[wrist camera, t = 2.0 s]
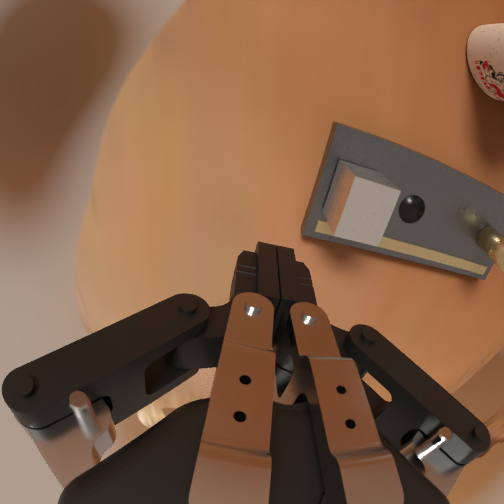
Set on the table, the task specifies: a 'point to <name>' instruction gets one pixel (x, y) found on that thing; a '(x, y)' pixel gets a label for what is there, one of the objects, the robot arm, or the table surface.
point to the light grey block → (359, 203)
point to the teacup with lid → (487, 58)
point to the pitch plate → (417, 206)
